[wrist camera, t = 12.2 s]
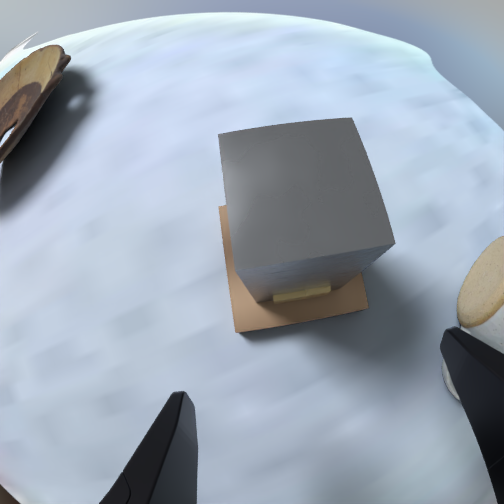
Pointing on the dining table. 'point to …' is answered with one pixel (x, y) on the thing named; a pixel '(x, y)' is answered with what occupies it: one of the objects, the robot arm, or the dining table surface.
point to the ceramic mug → (482, 302)
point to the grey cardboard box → (301, 208)
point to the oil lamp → (28, 91)
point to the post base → (274, 315)
